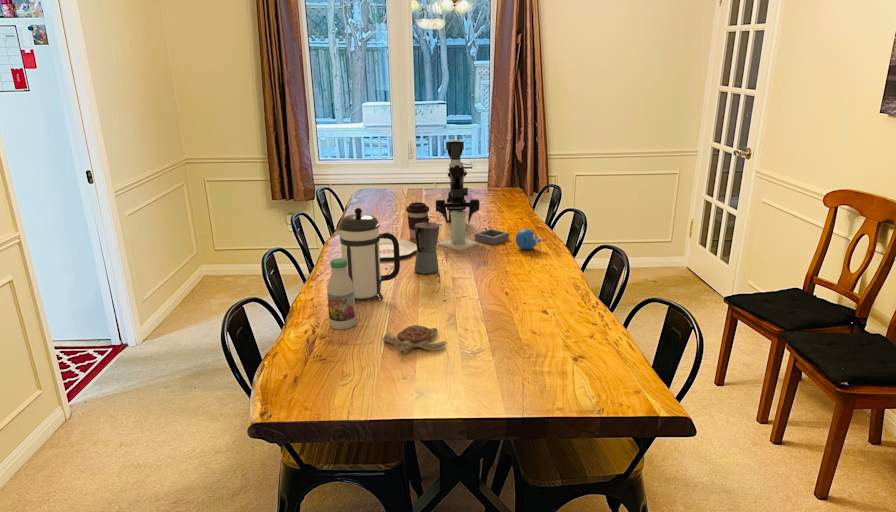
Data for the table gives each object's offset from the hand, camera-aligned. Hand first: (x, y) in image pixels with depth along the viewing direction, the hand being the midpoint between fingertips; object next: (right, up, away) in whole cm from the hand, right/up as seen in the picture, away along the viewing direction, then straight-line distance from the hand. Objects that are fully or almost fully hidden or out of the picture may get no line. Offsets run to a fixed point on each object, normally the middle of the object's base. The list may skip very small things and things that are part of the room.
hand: (457, 222), depth 245 cm
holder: (+15, -7, +6) cm, 17 cm away
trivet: (0, -9, -1) cm, 10 cm away
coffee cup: (-17, -6, +11) cm, 21 cm away
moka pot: (-12, -20, -31) cm, 39 cm away
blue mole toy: (+29, -12, -7) cm, 32 cm away
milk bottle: (-35, -35, -74) cm, 89 cm away
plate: (-29, -13, -8) cm, 33 cm away
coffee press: (-31, -28, -54) cm, 68 cm away
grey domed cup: (0, -9, -2) cm, 9 cm away
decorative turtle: (-13, -39, -86) cm, 95 cm away
